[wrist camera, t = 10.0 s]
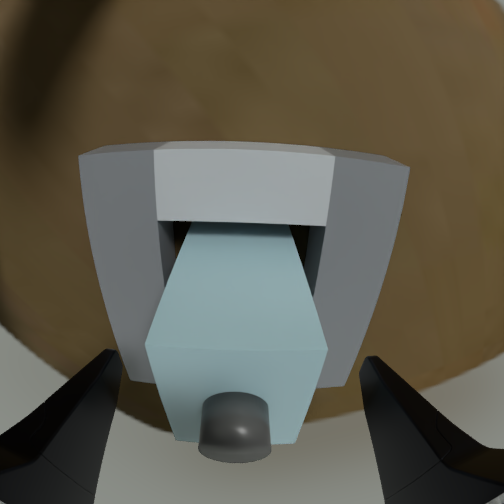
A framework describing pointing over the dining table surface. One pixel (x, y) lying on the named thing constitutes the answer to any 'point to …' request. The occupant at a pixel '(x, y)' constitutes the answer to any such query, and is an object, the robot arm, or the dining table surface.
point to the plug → (236, 340)
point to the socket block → (246, 211)
